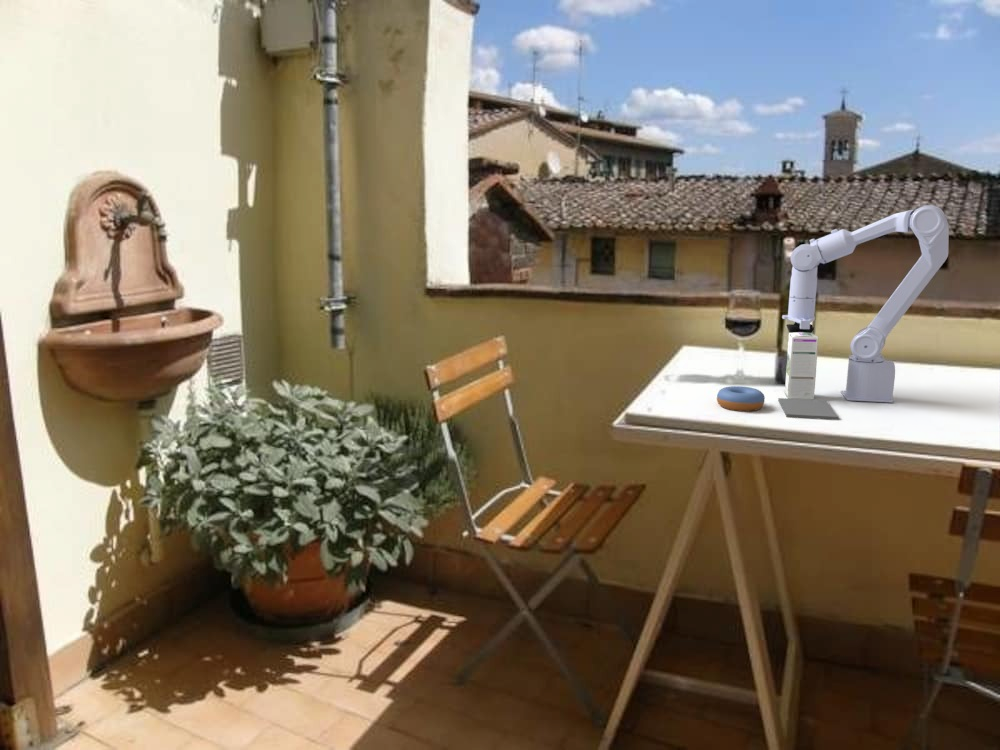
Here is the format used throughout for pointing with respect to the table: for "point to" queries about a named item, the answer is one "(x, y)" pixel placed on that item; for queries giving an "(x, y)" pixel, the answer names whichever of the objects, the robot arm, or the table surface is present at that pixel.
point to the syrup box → (801, 365)
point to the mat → (807, 408)
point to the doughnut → (740, 398)
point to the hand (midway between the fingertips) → (797, 355)
